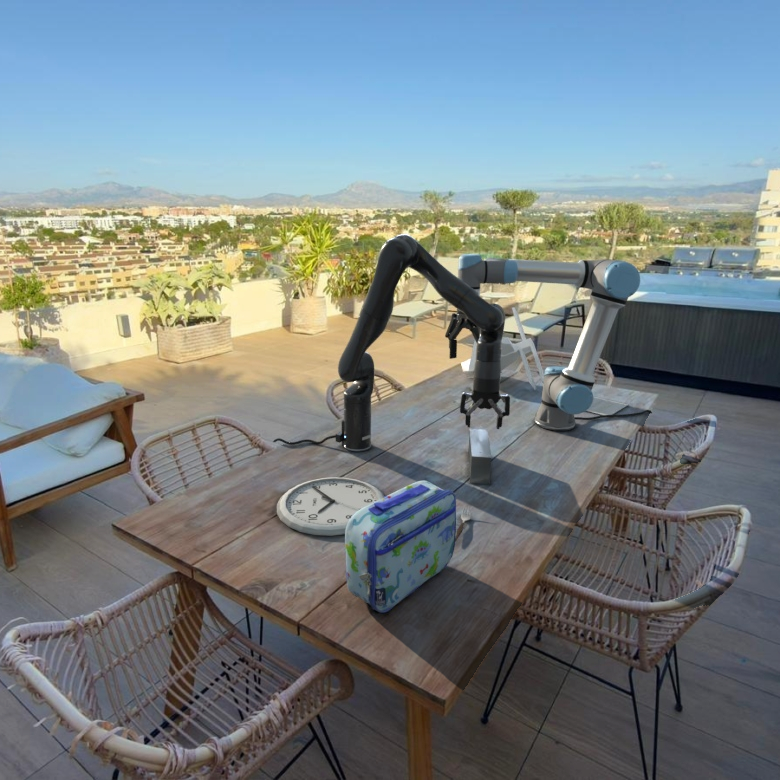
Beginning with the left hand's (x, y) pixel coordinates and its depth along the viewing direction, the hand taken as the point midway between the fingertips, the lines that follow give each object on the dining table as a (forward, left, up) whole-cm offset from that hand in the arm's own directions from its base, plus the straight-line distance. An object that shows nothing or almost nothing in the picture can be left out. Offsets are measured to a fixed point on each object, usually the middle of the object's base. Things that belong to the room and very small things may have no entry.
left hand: (483, 427), depth 154 cm
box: (-3, +7, -17) cm, 19 cm away
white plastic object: (-30, +102, -17) cm, 107 cm away
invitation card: (+19, +93, -17) cm, 96 cm away
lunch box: (+4, -55, -17) cm, 58 cm away
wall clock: (-28, -37, -17) cm, 49 cm away
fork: (+6, -28, -17) cm, 33 cm away
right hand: (-19, +29, +11) cm, 36 cm away
